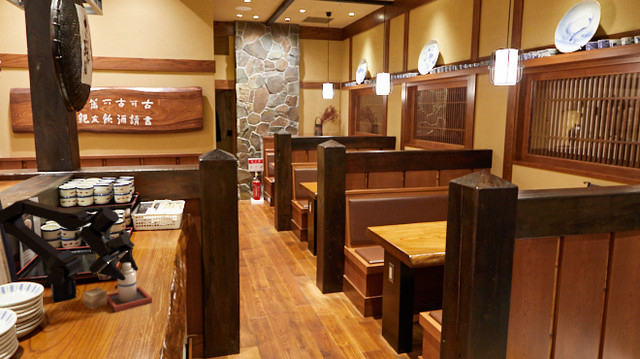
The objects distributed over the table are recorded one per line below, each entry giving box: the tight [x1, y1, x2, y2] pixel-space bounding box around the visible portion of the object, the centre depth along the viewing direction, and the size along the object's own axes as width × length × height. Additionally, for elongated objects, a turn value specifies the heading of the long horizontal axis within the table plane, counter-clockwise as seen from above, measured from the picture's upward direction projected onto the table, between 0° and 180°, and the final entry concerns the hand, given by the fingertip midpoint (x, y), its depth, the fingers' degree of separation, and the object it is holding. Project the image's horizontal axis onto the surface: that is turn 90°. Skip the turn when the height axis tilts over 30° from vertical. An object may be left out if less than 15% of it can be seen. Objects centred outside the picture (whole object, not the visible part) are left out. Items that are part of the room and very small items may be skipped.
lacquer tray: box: [107, 286, 153, 313], centre depth 143 cm, size 12×12×2 cm
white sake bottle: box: [117, 263, 137, 302], centre depth 142 cm, size 6×6×12 cm
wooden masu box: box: [82, 287, 108, 310], centre depth 140 cm, size 5×5×4 cm
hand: (131, 274), depth 142 cm, fingers open, 8 cm apart
